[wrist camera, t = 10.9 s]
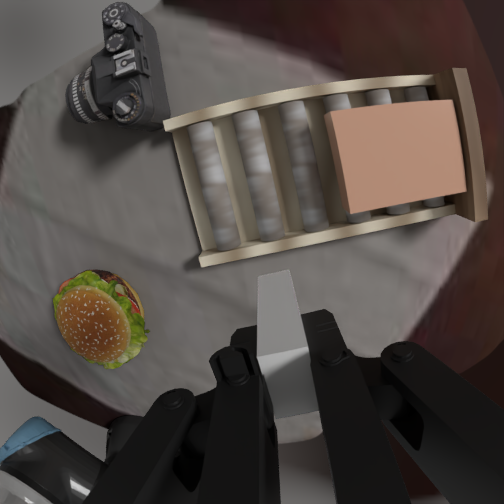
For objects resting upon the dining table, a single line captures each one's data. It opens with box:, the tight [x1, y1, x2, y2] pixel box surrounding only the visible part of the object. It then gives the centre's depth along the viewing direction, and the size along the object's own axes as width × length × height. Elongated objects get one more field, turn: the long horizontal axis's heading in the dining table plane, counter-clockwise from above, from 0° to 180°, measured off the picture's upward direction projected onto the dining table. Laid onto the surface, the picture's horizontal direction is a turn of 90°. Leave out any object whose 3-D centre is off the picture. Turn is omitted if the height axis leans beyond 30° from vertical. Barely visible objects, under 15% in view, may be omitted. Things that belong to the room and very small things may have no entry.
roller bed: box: [163, 68, 488, 267], centre depth 32 cm, size 33×17×8 cm, turn 103°
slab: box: [324, 100, 467, 214], centre depth 30 cm, size 14×10×4 cm
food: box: [53, 270, 150, 369], centre depth 39 cm, size 14×14×8 cm
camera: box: [66, 2, 171, 131], centre depth 29 cm, size 14×11×10 cm
